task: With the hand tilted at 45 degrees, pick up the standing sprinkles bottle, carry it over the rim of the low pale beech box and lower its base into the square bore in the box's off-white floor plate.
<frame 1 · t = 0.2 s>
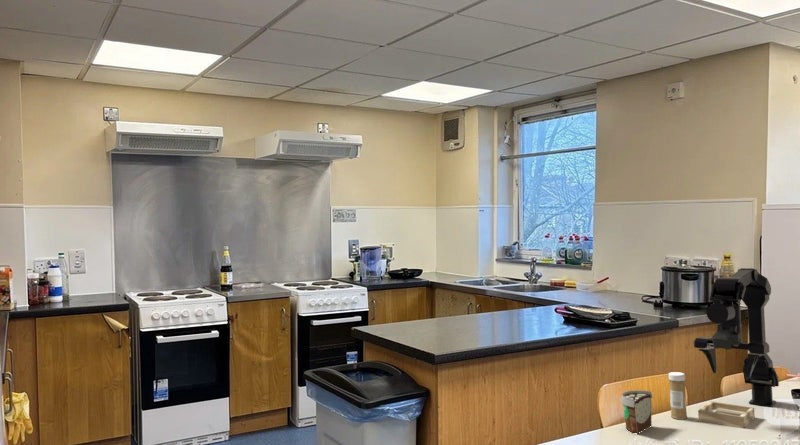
hand: (731, 375, 177), 14 cm above the table, tool pointing down, fingers open, 9 cm apart
sprinkles bottle: (678, 418, 185), on the table
food container: (634, 429, 176), on the table
box: (726, 419, 181), on the table
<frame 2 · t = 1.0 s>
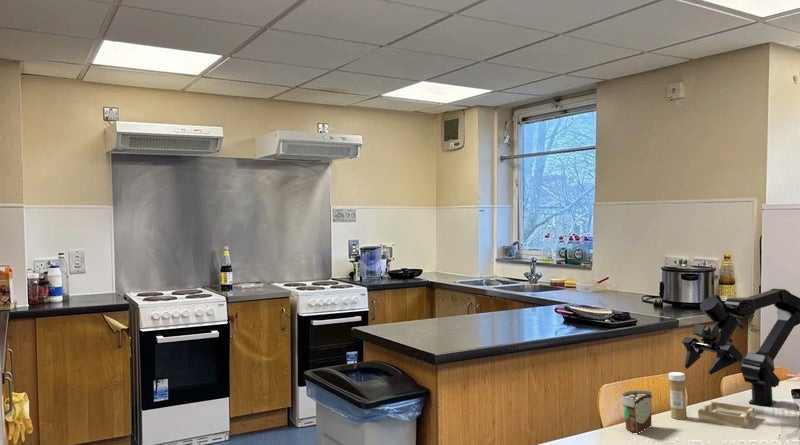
hand: (697, 370, 187), 13 cm above the table, tool tilted 45°, fingers open, 9 cm apart
nothing on the table moved.
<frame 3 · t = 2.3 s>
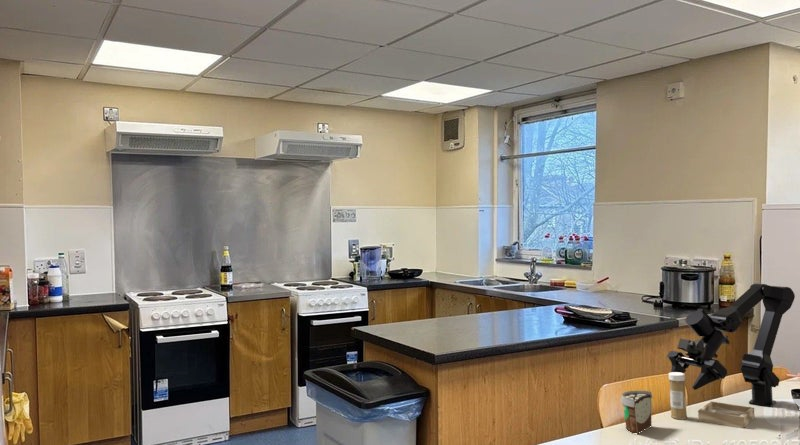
hand: (681, 385, 185), 10 cm above the table, tool tilted 45°, fingers open, 9 cm apart
nothing on the table moved.
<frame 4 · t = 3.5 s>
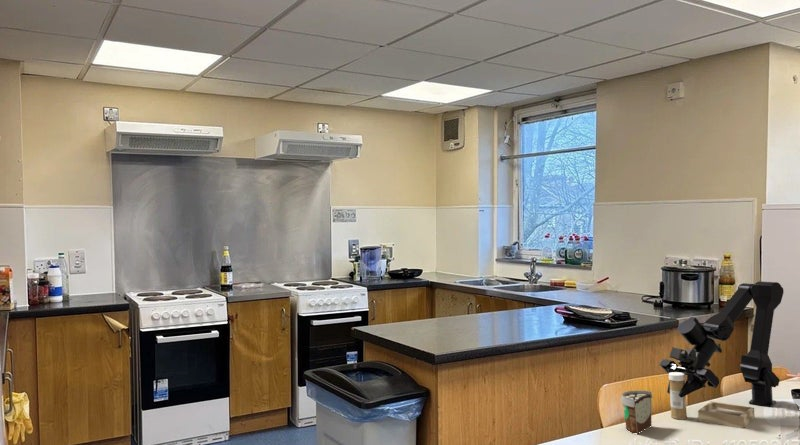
hand: (674, 394, 184), 7 cm above the table, tool tilted 45°, fingers closed on sprinkles bottle, 4 cm apart
sprinkles bottle: (678, 418, 185), on the table, touching gripper
everything else where it was.
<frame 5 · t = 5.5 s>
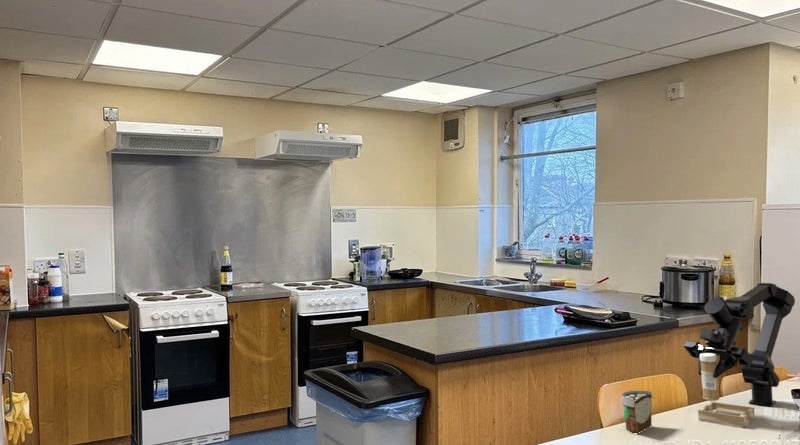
hand: (706, 376, 181), 13 cm above the table, tool tilted 45°, fingers closed on sprinkles bottle, 4 cm apart
sprinkles bottle: (710, 399, 182), point 6 cm above the table, touching gripper
everything else where it was.
when the fingers open (8 cm above the table, at t = 7.5 s): sprinkles bottle stays where it is, resting in box.
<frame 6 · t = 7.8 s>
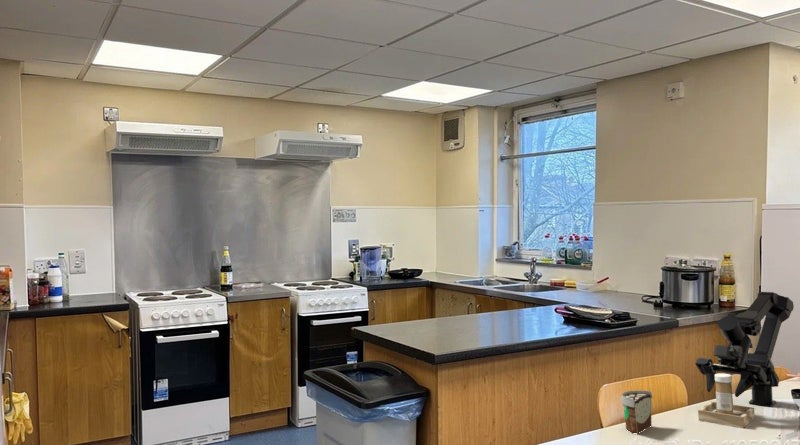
hand: (721, 393, 180), 8 cm above the table, tool tilted 45°, fingers open, 8 cm apart
sprinkles bottle: (725, 420, 181), resting in box
everything else where it was.
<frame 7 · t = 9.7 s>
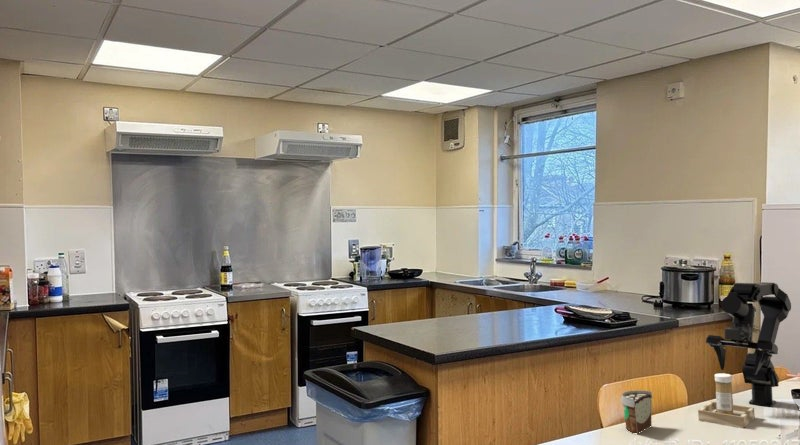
hand: (738, 372, 185), 13 cm above the table, tool tilted 20°, fingers open, 9 cm apart
nothing on the table moved.
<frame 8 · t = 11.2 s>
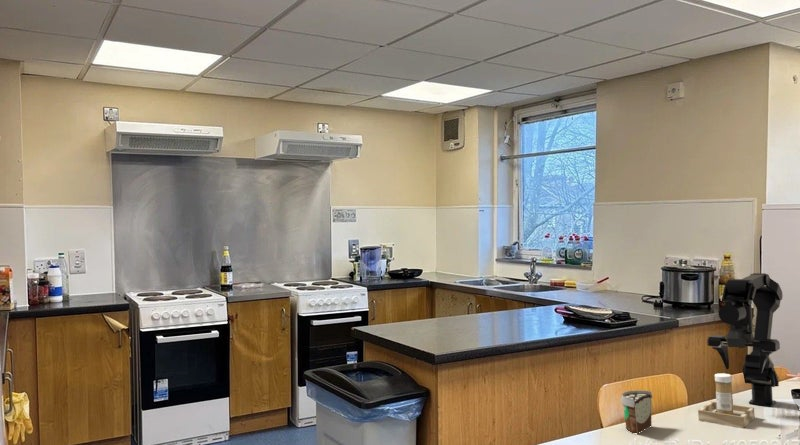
hand: (744, 371, 186), 13 cm above the table, tool pointing down, fingers open, 9 cm apart
nothing on the table moved.
at the end: sprinkles bottle 0.2 cm from the target spot, resting in box; sprinkles bottle tilted 0°; the gripper is holding nothing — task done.
